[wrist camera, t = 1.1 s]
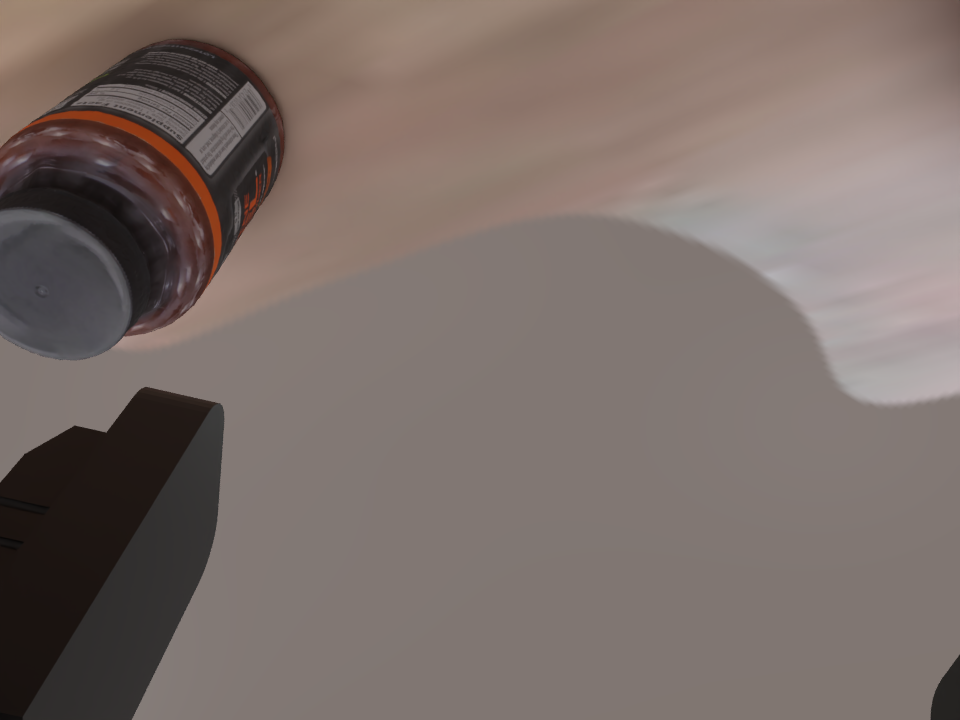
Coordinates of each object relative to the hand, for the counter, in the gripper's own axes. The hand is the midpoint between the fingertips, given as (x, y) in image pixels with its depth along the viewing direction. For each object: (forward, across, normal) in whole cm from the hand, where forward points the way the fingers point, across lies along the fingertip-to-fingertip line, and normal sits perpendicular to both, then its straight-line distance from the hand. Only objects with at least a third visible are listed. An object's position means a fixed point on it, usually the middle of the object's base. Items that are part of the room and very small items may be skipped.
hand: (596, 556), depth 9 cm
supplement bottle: (+22, +12, +5) cm, 25 cm away
